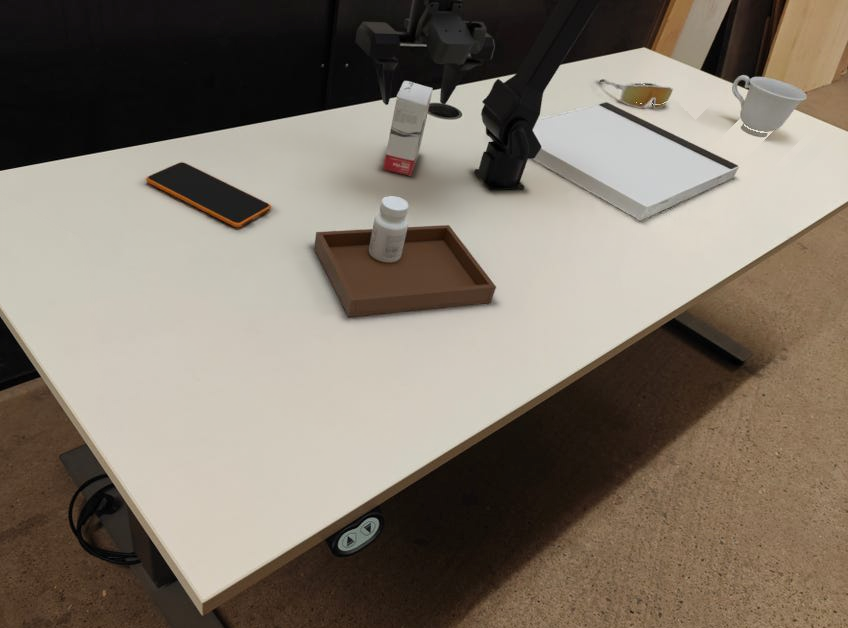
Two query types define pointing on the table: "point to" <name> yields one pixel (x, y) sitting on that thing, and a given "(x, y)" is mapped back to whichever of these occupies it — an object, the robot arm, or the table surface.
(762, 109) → the teacup
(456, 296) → the tray
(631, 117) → the white flat slab
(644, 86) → the sunglasses
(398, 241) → the pill bottle
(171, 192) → the smartphone
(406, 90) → the ink box
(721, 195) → the table surface
